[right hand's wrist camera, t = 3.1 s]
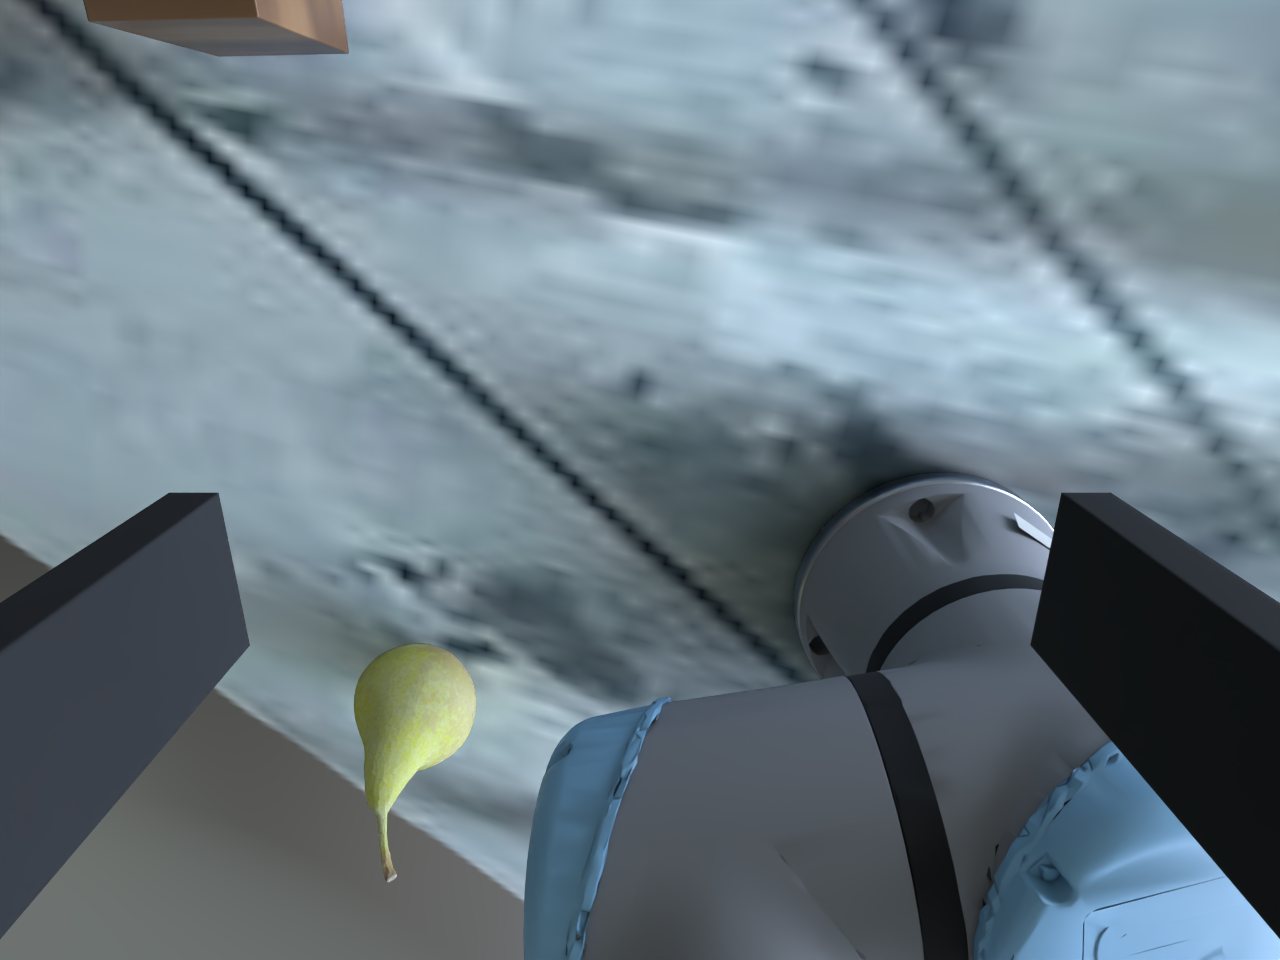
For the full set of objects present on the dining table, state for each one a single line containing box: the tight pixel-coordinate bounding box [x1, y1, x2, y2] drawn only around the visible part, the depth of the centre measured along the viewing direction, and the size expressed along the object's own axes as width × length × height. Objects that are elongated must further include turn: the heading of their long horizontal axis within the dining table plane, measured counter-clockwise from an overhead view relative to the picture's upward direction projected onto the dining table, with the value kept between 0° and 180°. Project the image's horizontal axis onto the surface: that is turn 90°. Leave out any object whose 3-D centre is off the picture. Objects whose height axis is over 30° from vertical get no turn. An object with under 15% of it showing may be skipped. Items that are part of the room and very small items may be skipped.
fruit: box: [354, 644, 476, 882], centre depth 42 cm, size 7×8×12 cm
